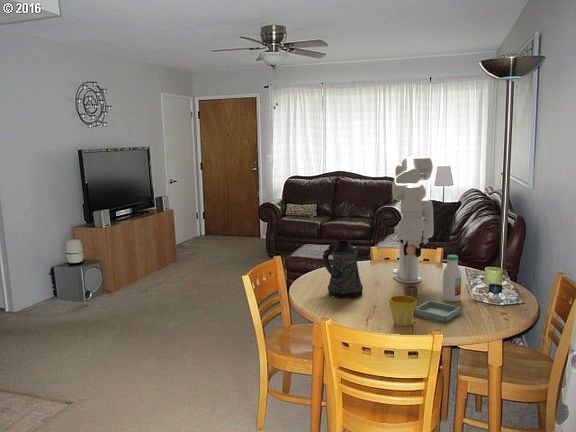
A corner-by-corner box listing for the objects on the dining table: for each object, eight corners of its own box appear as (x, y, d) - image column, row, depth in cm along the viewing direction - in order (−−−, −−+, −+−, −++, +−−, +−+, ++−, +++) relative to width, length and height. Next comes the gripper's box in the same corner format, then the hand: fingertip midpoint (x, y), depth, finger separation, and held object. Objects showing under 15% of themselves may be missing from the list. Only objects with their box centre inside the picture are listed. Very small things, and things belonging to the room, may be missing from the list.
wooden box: (404, 302, 213) (404, 287, 212) (408, 300, 216) (408, 284, 215) (412, 304, 210) (412, 288, 209) (417, 301, 213) (417, 286, 212)
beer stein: (362, 299, 218) (361, 246, 214) (319, 298, 222) (318, 245, 218) (363, 289, 234) (363, 238, 230) (324, 287, 238) (323, 238, 234)
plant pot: (412, 317, 194) (412, 294, 193) (419, 327, 184) (420, 302, 183) (386, 318, 194) (386, 295, 193) (393, 328, 184) (393, 303, 182)
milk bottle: (449, 302, 211) (450, 258, 208) (439, 297, 218) (440, 254, 215) (464, 300, 213) (465, 256, 210) (453, 295, 220) (455, 253, 217)
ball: (404, 255, 209) (404, 244, 208) (409, 253, 213) (410, 242, 212) (414, 257, 206) (414, 246, 205) (420, 255, 209) (420, 244, 209)
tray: (413, 315, 197) (413, 308, 197) (429, 306, 207) (429, 300, 207) (445, 323, 187) (445, 316, 187) (460, 313, 197) (461, 307, 197)
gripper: (390, 213, 210) (390, 254, 212) (426, 217, 198) (425, 260, 201) (399, 211, 215) (399, 251, 218) (435, 215, 203) (434, 257, 206)
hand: (412, 255), depth 209 cm, fingers closed on ball, 4 cm apart
